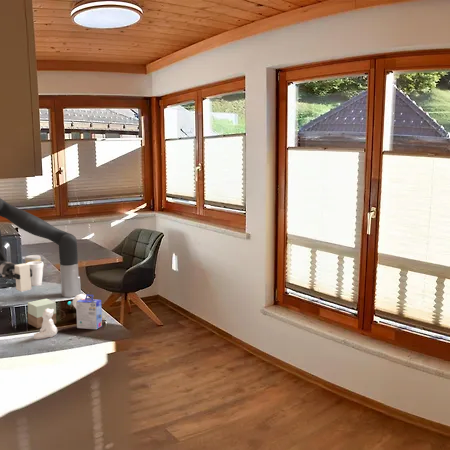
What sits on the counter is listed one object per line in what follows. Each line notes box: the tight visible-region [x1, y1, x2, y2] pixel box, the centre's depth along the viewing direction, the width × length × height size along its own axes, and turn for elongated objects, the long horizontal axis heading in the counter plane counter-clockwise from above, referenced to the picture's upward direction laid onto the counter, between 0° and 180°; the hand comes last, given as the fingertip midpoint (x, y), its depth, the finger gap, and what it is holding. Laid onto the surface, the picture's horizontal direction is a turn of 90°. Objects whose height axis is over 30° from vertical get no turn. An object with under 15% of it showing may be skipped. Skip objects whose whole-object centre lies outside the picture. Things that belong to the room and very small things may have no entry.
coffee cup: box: [24, 254, 42, 263], centre depth 317 cm, size 9×9×12 cm
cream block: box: [14, 262, 32, 293], centre depth 239 cm, size 5×5×12 cm
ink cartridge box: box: [75, 293, 103, 330], centre depth 223 cm, size 10×6×14 cm, turn 78°
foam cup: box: [25, 260, 45, 287], centre depth 294 cm, size 10×9×13 cm
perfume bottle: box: [67, 293, 89, 309], centre depth 249 cm, size 8×8×12 cm
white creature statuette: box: [33, 308, 58, 340], centre depth 213 cm, size 10×9×12 cm
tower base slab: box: [27, 312, 57, 329], centre depth 229 cm, size 9×9×5 cm
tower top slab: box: [27, 297, 57, 318], centre depth 228 cm, size 9×9×5 cm
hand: (25, 276), depth 237 cm, fingers closed on cream block, 5 cm apart
